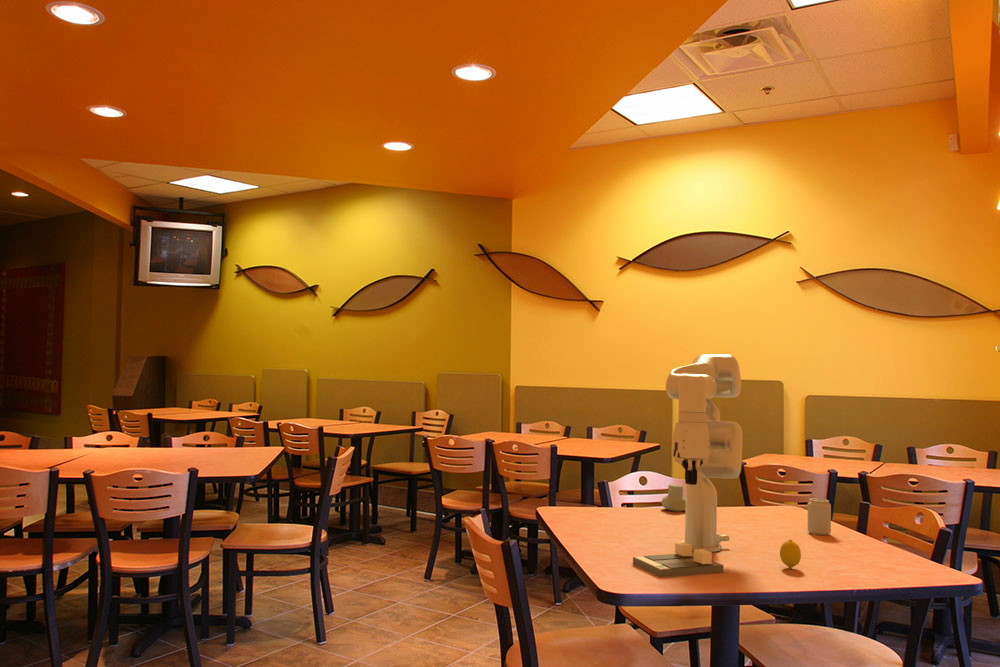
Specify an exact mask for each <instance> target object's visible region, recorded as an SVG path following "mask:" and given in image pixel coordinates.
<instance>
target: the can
mask: <svg viewBox="0 0 1000 667" xmlns="http://www.w3.org/2000/svg"><path fill="white" fill-rule="evenodd" d="M831 524H832V505H831V503H830V500H828V499H825V498H809V501H808V502H807V531H808V532H809V534H810V533H811V535H813V534H814V536H820V535H827V536H829V534H831V532H832V529H831V528H832V525H831Z"/></svg>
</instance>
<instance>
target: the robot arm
mask: <svg viewBox="0 0 1000 667" xmlns="http://www.w3.org/2000/svg"><path fill="white" fill-rule="evenodd" d="M665 391H666V394H667V397H669V398H670V399H672V400H678V413H677V414H678V419H677V420H678V422H675V425H674V429H673V432H672V440H671V456H672V457H673V462H674V463H676V464H680V465H681V467H682V468H683V470H684V480H685V482H684V483H685V497H686V508H685V510H684V511H685V516H684V519H685V520H684V521H685V522H684V525H685V526H684V539H683V540H681V541H680V542H685V543H688V544H691V545H692V552H694V550H696V549H704V550H707V551H710V552H712V553H715V552H716V553H717V552H719V551H722V547H723V546H722V545H721V544H720V543H721V542H729V541H730V536H729V534H722V535H721V534H720V533H717V532H718V531H717V530H718V529H717V524H718V522H717V519H718V518H717V517H718V490H717V489H716V486H714V484H713V483H712V481H711V480H710V478H712V479H713V478H715V479H716V478H717V479H728V480H730V479H731V480H733V479H736V478H739V476H740V474H741V471H742V463H743V462H742V459H743V442H744V441H743V440H744V439H743V437H744V436H743V429H742V426H741V425H740V424H739V423H738V422H736V421H732V420H731V421H730V420H721V411H720V410H719V408H718V407H717V405H715V403H714V402H713V401H712V400H711V399H713V398H729V399H730V398H732V399H733V398H737V397H738V396H739V395H740V394H741V391H742V377H741V370H740V365H739V362H738V360H737V359H736V357H735V356H733V355H731V354H715V353H714V354H699V355H697V357H695V358H694V360H692V363H691V364H687V365H684V366H679V367H676V368H674V369H672V370H671V371H670V372H669V374H668V376H667V378H666V382H665Z"/></svg>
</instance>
